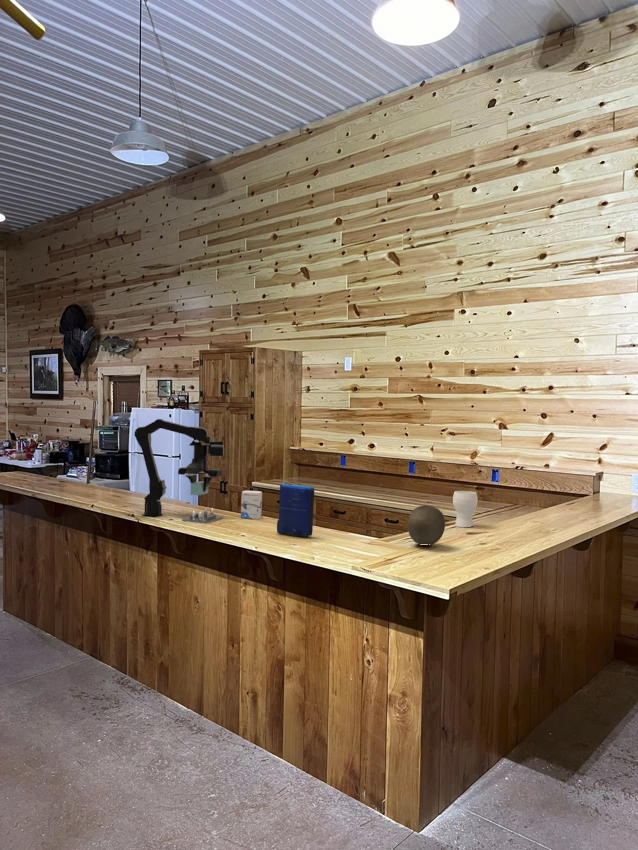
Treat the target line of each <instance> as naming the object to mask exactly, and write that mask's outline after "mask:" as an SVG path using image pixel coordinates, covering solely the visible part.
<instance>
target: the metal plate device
mask: <svg viewBox="0 0 638 850" xmlns="http://www.w3.org/2000/svg"><path fill="white" fill-rule="evenodd" d="M203 509H204V511H200V510H199V511H198V512H197V513H196V510H192V511H191V512H192V513H191V514H190V515H189V516H188V517H183V518H182V519H181V521H182V522H187V521H189V522H190V523H197V522H198V523H200V524H207V523H208V524H210V523H213V521H214V522H216V521H220V520H222V519H224V516H220V515H217V514H214V513H215V512H214V511H215V508H214V507H211V508H210V514H209V515H208V512H209V511H208V507H204V508H203ZM189 522H188V523H189Z"/></svg>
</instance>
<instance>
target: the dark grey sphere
mask: <svg viewBox="0 0 638 850" xmlns="http://www.w3.org/2000/svg"><path fill="white" fill-rule="evenodd" d="M445 528H446V520H445V517H444V514H443V513H442V511H441V510H440V509H439V508H437V507H435V506H433V505H427V504H426V505H420V506H417V507H416V508H414V509H413V510H412V511H411V512H410V515H409V518H408V521H407V531H408V534H409V537H410V538H411V540H412V541H413V542H414V543H416V544H417V543H418V544H428V545H429V544H432V545H434V544H436V543H437V542H439V541H440V540H441V538H442V537H443V535H444V533H445V530H446V529H445ZM418 544H417V545H418ZM429 546H430V545H429Z"/></svg>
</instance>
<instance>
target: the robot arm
mask: <svg viewBox="0 0 638 850" xmlns="http://www.w3.org/2000/svg"><path fill="white" fill-rule="evenodd" d="M160 429H161V430H162V429H163V430H166V431H171V432H174V433H178V434H180V435H181V434H182V435H185V436H187V437H189V438H191V439H193V440H192V441H191V443H189V446H190V447H193V457H192V459H191V462H190V463H189V464H188V465H187V466H183V467H180V468H178V470H177V475H184V476H185V478H187V479H188V480H189V482H190V484H191V483H194V482H197V480H198V479H197V478H198V477H197V476H198V475H204V476H202V479H203V482H204V487H203V491H204V492H205V491H206V489H207V487H208V488H209V485H210V482H211V480H212V479H213V478H216V477H217V478H218V477H221V476H222V475H223V471H222V470H221V469H218V468H211V469H209V468H208V467H207V466H208V465H207V464H208V461H209V458H208V457H207V456H208V455H210V457H224V456H225V444H224V441H223V440H220V441H212V439H211V438H210V436H209V431H208V429H206V428H205V427H200V426H188V425H183V424H180V423H177V422H176V423H175V422H173V421H170V420H169V421H168V420H164V419H162V418H157V419H156V420H154V421H153V422H150V423H148V424H146V425H145V426H141V427H140V426H139V427H137V428H136V429H135V430H134V433H133V434H134V437H135V439H136V442H137V444H138V445H139V447H140V449H141V451H142V455H143V460H144V464H145V468H146V470H147V475H148V479H149V481H148V482H149V483H148V484H149V486H148V487H149V488H148V490H149V493H148V494H147V495H146V496H144V511H143V514H142V515H141V516H142V517H143V516H144V517H152V518H154V517H159V516H160V517H161V516H163V513H162V512H163V511H162V510H163V509H162V505H163V504H162V501H160V500H161V498H163V497H164V495H165V494H166V491H167V490H166V489H167V486H166V481H165V479H161V478H160V476H159V471H158V468H157V464H156V459H155V456H154V453H153V448H152V434H153V433H155V432H157V431H159V430H160ZM195 440H196V441H195Z"/></svg>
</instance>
